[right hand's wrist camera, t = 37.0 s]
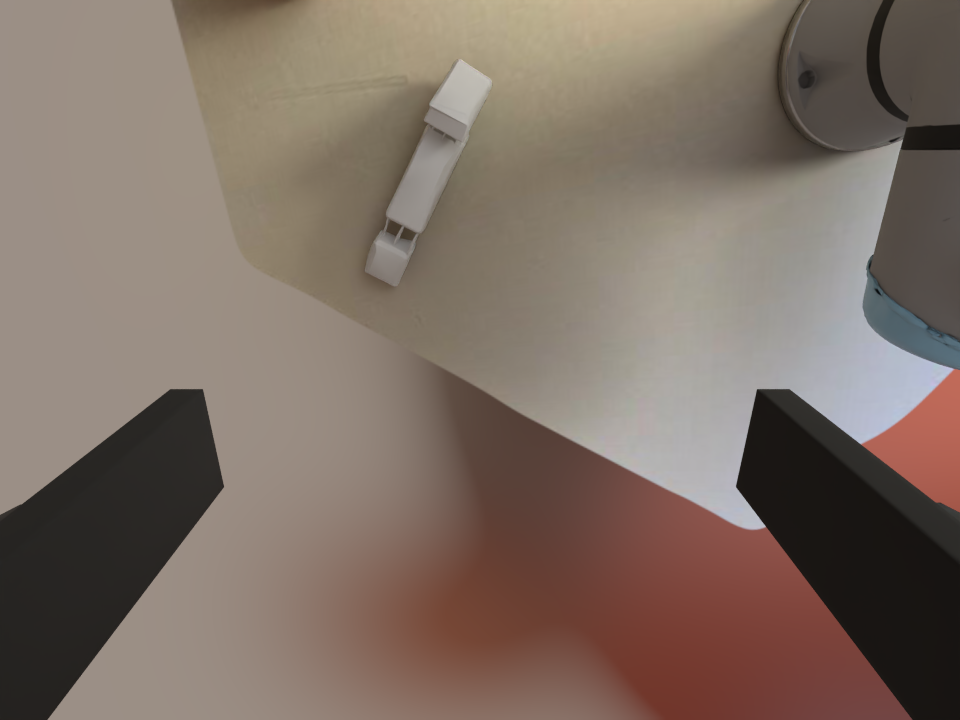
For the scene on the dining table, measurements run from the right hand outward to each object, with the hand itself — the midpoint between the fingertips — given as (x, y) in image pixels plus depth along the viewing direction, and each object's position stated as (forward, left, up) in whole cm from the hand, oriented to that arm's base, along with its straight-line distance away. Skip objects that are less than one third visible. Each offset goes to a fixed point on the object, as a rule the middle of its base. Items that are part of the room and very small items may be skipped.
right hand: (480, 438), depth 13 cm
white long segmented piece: (-1, -6, -41) cm, 41 cm away
